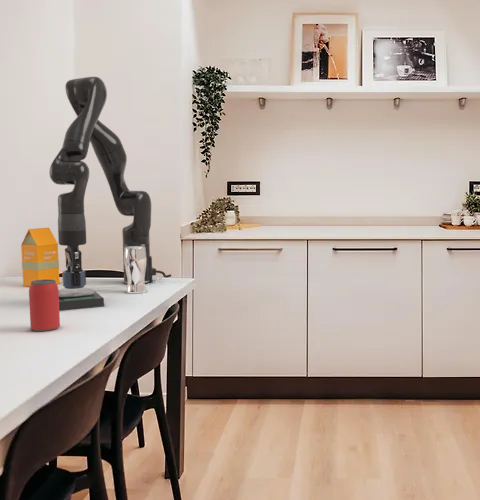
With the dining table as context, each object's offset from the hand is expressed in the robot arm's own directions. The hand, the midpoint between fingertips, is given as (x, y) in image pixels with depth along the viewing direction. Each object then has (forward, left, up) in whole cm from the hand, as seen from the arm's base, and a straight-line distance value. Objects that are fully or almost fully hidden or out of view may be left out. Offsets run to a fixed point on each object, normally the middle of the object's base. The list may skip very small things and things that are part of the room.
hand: (74, 284), depth 183 cm
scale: (0, +1, -6) cm, 6 cm away
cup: (0, 0, -1) cm, 1 cm away
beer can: (+11, +30, -6) cm, 33 cm away
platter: (0, 0, -3) cm, 3 cm away
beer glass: (-21, -11, -6) cm, 24 cm away
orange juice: (+4, -42, -6) cm, 43 cm away
